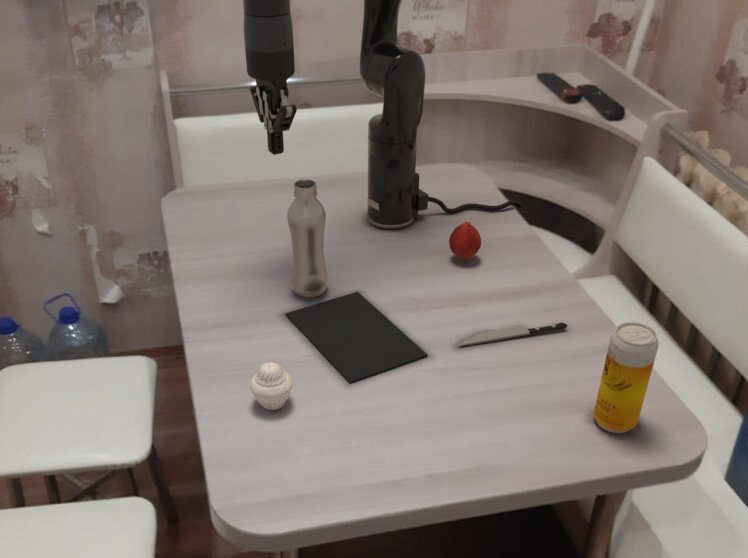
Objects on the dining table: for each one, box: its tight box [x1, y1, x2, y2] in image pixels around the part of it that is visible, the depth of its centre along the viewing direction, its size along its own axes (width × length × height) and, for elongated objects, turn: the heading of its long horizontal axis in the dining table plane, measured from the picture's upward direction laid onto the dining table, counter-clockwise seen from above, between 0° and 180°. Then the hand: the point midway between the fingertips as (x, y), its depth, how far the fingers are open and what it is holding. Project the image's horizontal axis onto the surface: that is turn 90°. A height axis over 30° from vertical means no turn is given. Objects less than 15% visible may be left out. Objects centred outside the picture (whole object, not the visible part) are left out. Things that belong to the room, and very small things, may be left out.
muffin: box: [249, 361, 293, 411], centre depth 118 cm, size 6×6×7 cm
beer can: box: [593, 321, 660, 434], centre depth 112 cm, size 6×6×15 cm
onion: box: [448, 219, 482, 261], centre depth 151 cm, size 6×6×8 cm
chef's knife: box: [457, 322, 568, 347], centre depth 133 cm, size 19×1×3 cm
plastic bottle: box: [286, 178, 329, 298], centre depth 138 cm, size 6×7×20 cm
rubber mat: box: [284, 291, 428, 384], centre depth 133 cm, size 14×22×1 cm, turn 30°
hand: (276, 152), depth 138 cm, fingers closed
